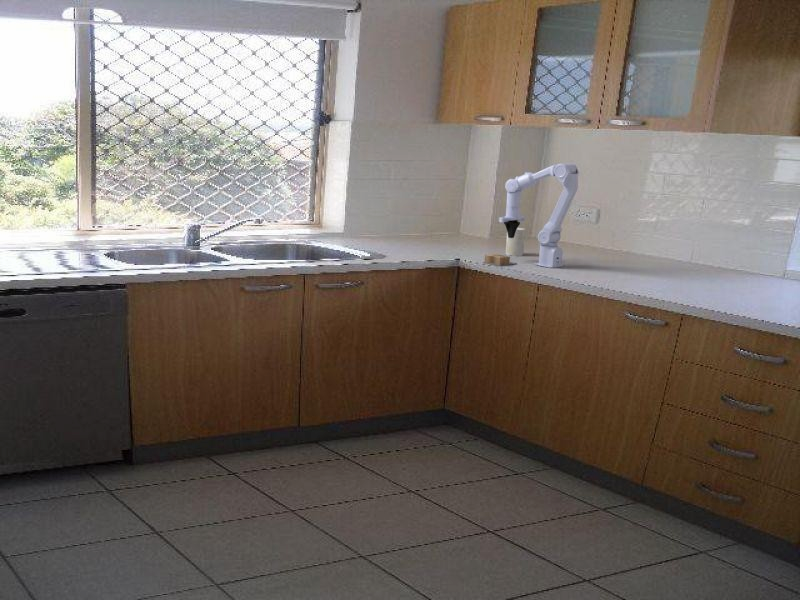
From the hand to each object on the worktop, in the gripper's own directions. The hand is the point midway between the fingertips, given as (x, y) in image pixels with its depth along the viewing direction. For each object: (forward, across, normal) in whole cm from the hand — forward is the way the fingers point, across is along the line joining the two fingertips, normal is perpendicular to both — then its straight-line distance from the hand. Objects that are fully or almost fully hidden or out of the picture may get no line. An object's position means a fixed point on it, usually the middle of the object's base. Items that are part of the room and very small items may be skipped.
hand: (511, 237), depth 371 cm
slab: (+8, +9, +4) cm, 13 cm away
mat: (+10, +10, +4) cm, 15 cm away
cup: (+10, -14, -10) cm, 20 cm away
